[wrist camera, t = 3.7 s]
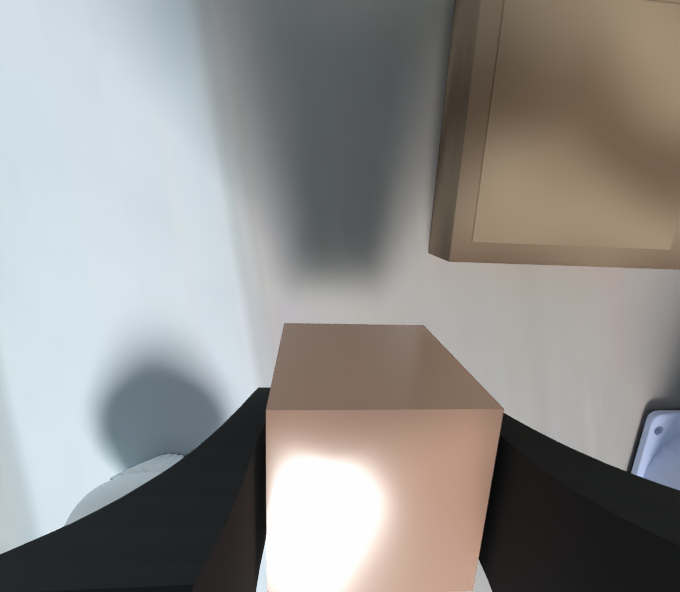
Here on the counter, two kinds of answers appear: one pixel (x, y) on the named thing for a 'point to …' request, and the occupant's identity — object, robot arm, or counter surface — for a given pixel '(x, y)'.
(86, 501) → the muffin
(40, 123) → the counter surface
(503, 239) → the tan brown tray
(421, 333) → the peach tan block
